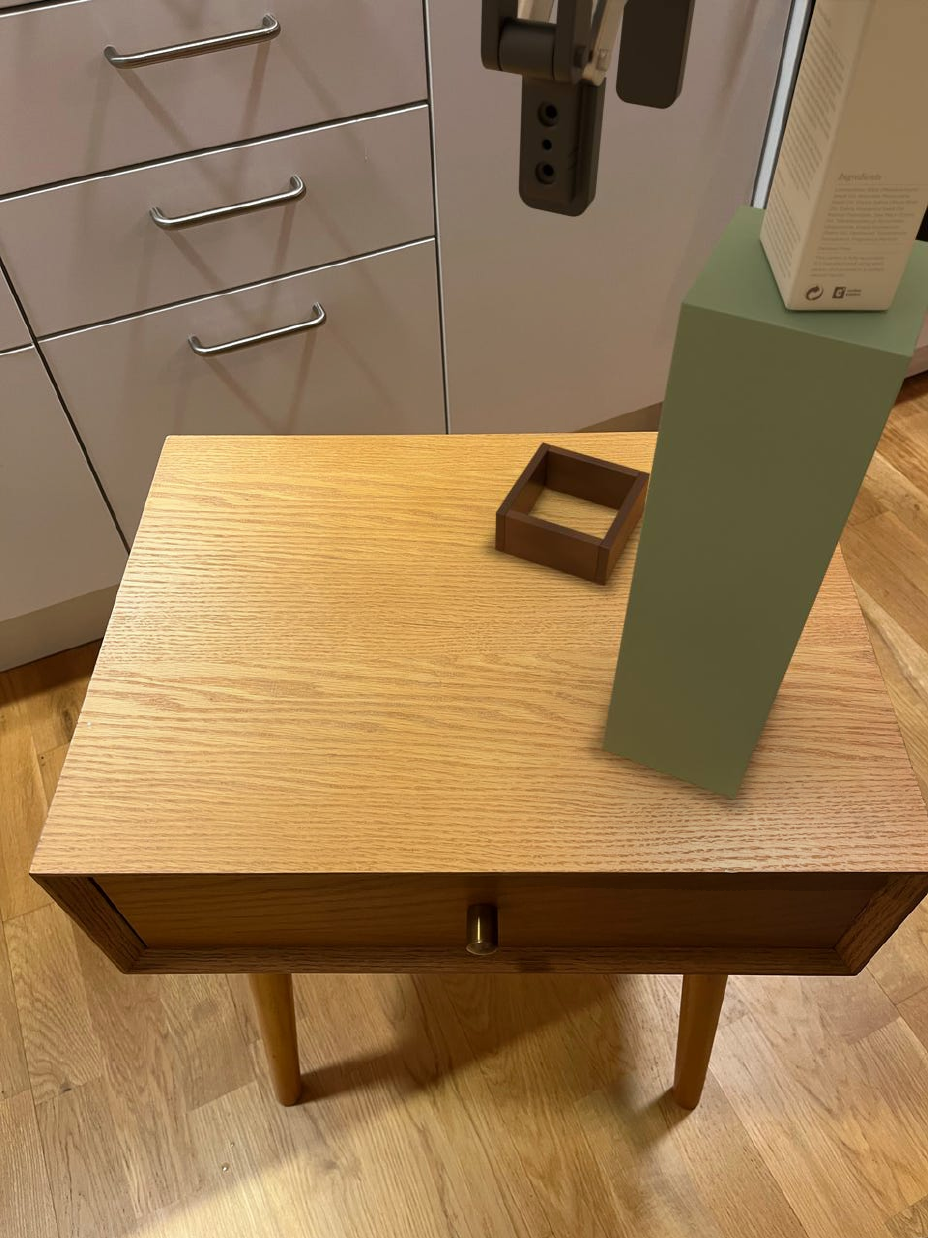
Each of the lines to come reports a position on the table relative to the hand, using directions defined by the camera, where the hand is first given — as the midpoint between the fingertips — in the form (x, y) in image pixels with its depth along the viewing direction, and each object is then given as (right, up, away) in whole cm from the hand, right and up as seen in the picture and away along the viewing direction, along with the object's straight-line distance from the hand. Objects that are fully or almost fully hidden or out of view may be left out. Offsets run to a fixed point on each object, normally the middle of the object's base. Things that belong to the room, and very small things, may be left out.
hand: (605, 150), depth 32 cm
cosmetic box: (+10, -1, +8) cm, 13 cm away
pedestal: (+10, -22, +33) cm, 42 cm away
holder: (+4, -8, +46) cm, 47 cm away
